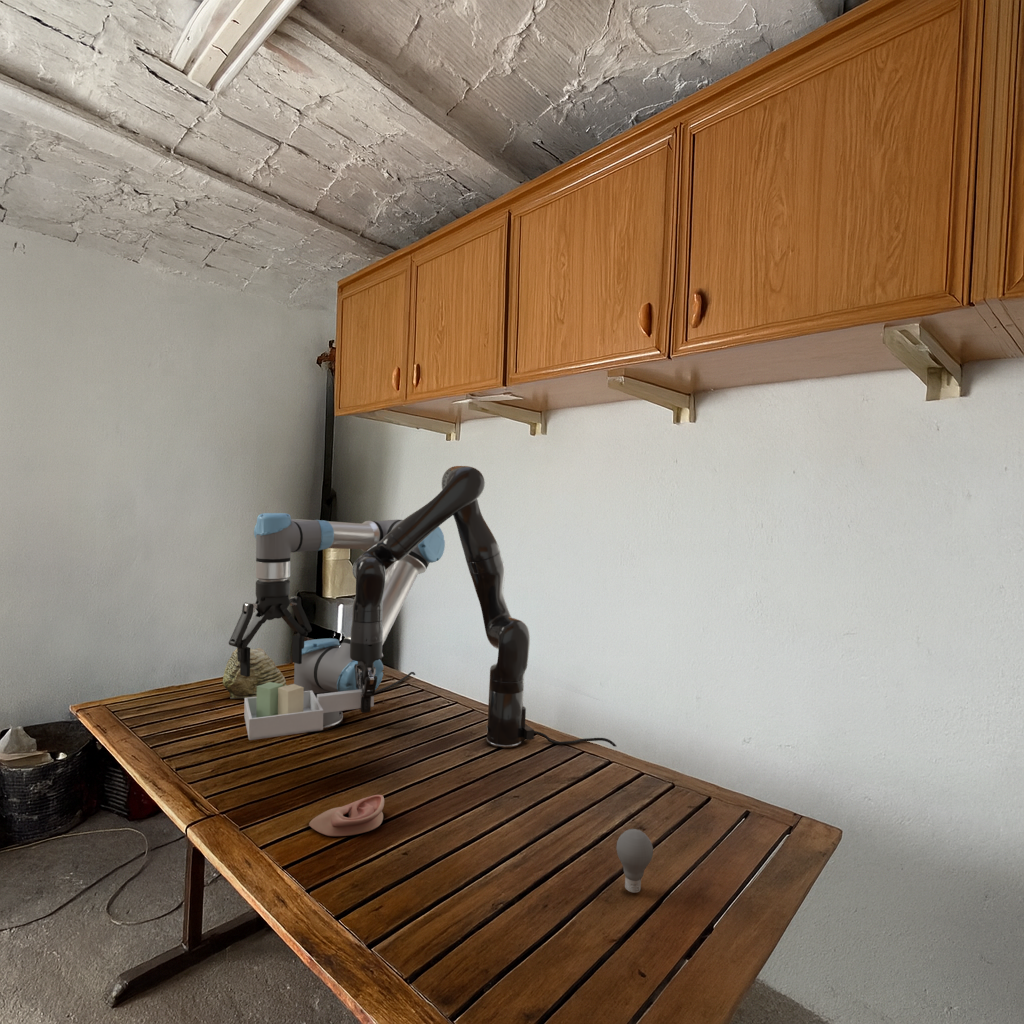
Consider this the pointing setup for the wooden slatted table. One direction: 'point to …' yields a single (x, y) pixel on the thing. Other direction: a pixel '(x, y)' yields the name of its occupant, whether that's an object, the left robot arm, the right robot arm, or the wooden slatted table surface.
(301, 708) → the block
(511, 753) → the wooden slatted table surface
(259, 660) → the fossil
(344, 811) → the anatomical model
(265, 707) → the block
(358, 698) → the tray
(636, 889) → the light bulb
